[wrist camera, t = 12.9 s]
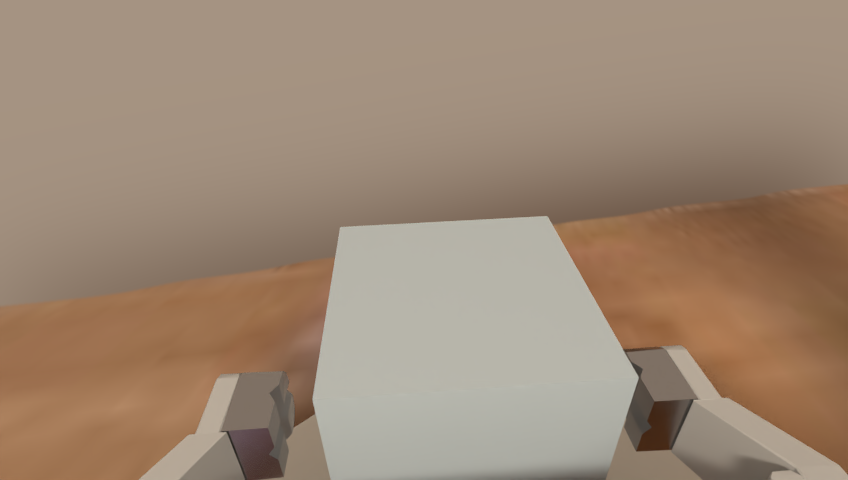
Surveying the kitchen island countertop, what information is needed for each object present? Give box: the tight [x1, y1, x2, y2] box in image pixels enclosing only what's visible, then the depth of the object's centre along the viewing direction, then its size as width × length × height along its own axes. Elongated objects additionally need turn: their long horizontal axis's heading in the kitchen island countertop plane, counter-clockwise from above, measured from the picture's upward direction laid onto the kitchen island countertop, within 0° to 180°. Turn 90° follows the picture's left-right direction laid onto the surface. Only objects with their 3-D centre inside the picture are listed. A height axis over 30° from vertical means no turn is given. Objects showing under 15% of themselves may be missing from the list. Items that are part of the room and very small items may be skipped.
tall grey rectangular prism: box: [312, 216, 639, 480], centre depth 13 cm, size 6×6×9 cm
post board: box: [261, 414, 702, 480], centre depth 14 cm, size 16×12×8 cm
